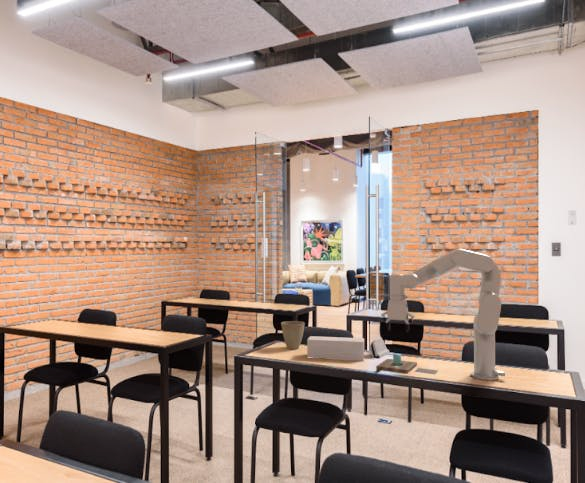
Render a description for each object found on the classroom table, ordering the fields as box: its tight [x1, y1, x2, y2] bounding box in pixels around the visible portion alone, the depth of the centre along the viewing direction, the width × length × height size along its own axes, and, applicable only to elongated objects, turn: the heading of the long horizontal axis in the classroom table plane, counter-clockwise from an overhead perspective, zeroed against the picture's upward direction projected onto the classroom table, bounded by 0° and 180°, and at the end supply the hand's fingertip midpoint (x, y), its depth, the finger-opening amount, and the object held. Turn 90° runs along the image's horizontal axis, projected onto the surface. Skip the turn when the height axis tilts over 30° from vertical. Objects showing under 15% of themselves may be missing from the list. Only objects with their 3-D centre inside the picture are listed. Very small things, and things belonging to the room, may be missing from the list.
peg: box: [392, 353, 402, 366], centre depth 235 cm, size 4×4×8 cm
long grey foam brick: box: [306, 335, 365, 362], centre depth 263 cm, size 32×11×11 cm, turn 79°
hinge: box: [369, 339, 391, 359], centre depth 269 cm, size 17×5×10 cm, turn 148°
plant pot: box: [280, 320, 306, 350], centre depth 286 cm, size 15×15×16 cm
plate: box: [414, 367, 439, 375], centre depth 228 cm, size 10×8×2 cm
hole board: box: [376, 358, 418, 374], centre depth 235 cm, size 16×18×3 cm
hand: (397, 331), depth 235 cm, fingers open, 9 cm apart
